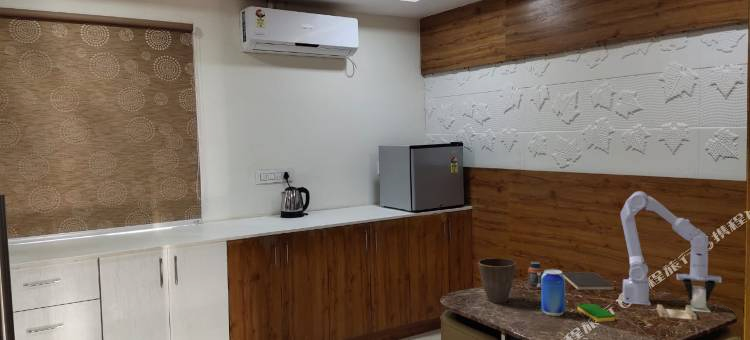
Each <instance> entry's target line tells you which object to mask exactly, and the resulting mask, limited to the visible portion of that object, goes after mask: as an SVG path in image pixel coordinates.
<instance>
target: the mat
mask: <svg viewBox="0 0 750 340" xmlns="http://www.w3.org/2000/svg"><path fill="white" fill-rule="evenodd" d="M685 307H691V309H692V310H693V311H694V312H704V313H711V312H712V311H711V310H710V309H709V308H708V306H707V305H706V308H697V307H693V306H691V304H685Z"/></svg>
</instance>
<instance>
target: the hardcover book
mask: <svg viewBox="0 0 750 340" xmlns="http://www.w3.org/2000/svg"><path fill="white" fill-rule="evenodd" d="M562 274H563V276H564V277H565V280H567V281H568V283H570V284H571V285H572V286H573V287H574V288H575V289H576V290H579V291H580V290H582V291H583V290H584V291H585V290H588V291H589V290H590V291H591V290H593V291H594V290H599V291H601V290H606V291H607V290H609V291H610V290H613V291H614V290H616V289H615V285H613V284H611V282H609V281H608V280H606V279H605V278H603V277H602V276H601V275H599V274H598V273H596V272H595V271H594V272H589V271H588V272H576V271H575V272H570V271H569V272H563V271H562Z"/></svg>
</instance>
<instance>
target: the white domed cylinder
mask: <svg viewBox="0 0 750 340" xmlns="http://www.w3.org/2000/svg"><path fill="white" fill-rule="evenodd" d="M691 293H692V300H690V305H691V306H693V307H697V308H706V306H707V301H706V288H705V286H702V285H701V286H700V285H692V290H691Z"/></svg>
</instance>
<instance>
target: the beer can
mask: <svg viewBox="0 0 750 340" xmlns="http://www.w3.org/2000/svg"><path fill="white" fill-rule="evenodd" d="M562 272H563V271H562V270H559V269H552V268H551V269H545V270H544V271H543V272H542V277H541V281H542V288H541V311H542V312H543V314H544V313H545V315H546V314H547V316H550V315H551V316H550V317H561V316H562V315H564V313H565V311H566V279H565V277H564V276H563V274H562ZM560 315H561V316H560Z"/></svg>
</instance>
